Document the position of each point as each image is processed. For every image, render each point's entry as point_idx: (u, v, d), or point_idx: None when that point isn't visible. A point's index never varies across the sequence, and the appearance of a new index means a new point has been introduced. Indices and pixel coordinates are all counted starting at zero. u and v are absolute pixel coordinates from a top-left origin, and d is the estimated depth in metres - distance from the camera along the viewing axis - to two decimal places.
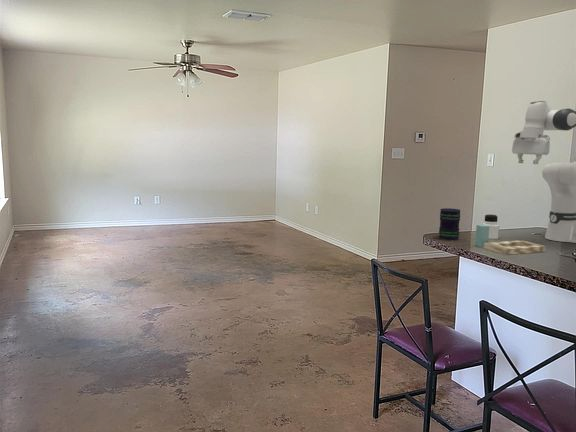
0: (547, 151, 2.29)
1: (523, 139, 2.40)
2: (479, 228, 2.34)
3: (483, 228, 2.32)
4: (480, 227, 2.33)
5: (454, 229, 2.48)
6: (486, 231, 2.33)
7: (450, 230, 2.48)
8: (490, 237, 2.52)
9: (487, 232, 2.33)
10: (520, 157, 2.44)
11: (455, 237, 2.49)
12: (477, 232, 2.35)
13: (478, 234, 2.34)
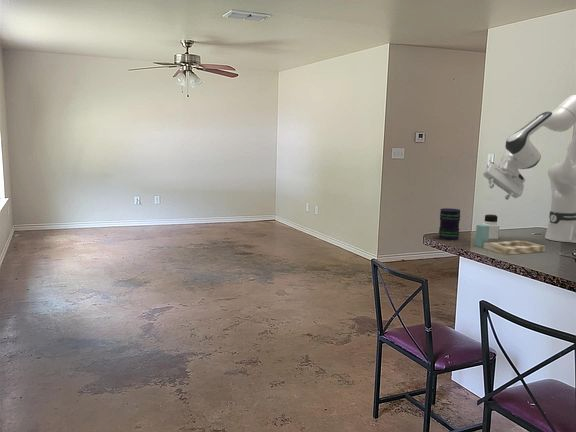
0: (486, 171, 2.33)
1: None
2: (479, 228, 2.34)
3: (483, 228, 2.32)
4: (480, 227, 2.33)
5: (454, 229, 2.48)
6: (486, 231, 2.33)
7: (450, 230, 2.48)
8: (490, 237, 2.52)
9: (487, 232, 2.33)
10: (509, 195, 2.33)
11: (455, 237, 2.49)
12: (477, 232, 2.35)
13: (478, 234, 2.34)
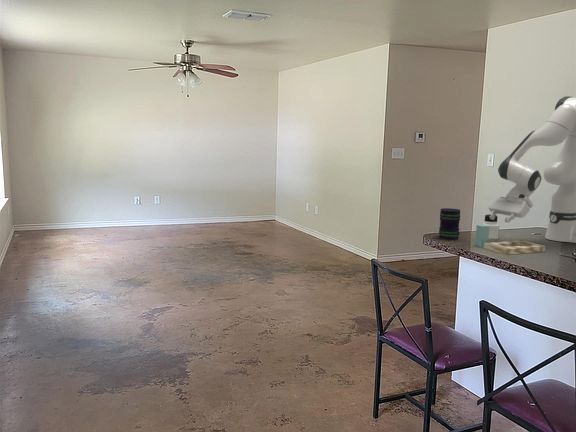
0: None
1: None
2: (479, 228, 2.34)
3: (483, 228, 2.32)
4: (480, 227, 2.33)
5: (454, 229, 2.48)
6: (486, 231, 2.33)
7: (450, 230, 2.48)
8: (490, 237, 2.52)
9: (487, 232, 2.33)
10: None
11: (455, 237, 2.49)
12: (477, 232, 2.35)
13: (478, 234, 2.34)
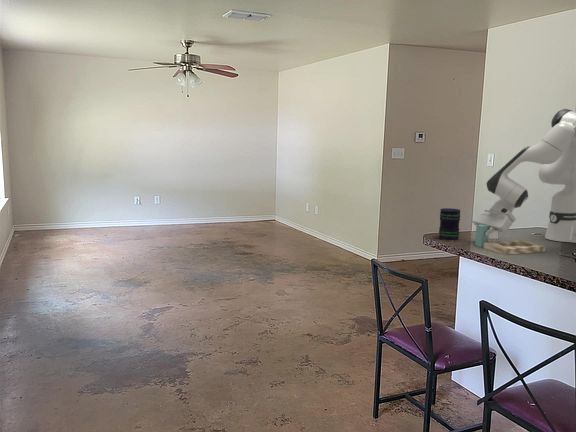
0: None
1: None
2: (479, 228, 2.34)
3: (483, 228, 2.32)
4: (480, 227, 2.33)
5: (454, 229, 2.48)
6: None
7: (450, 230, 2.48)
8: (490, 237, 2.52)
9: None
10: None
11: (455, 237, 2.49)
12: (477, 232, 2.35)
13: (478, 234, 2.34)
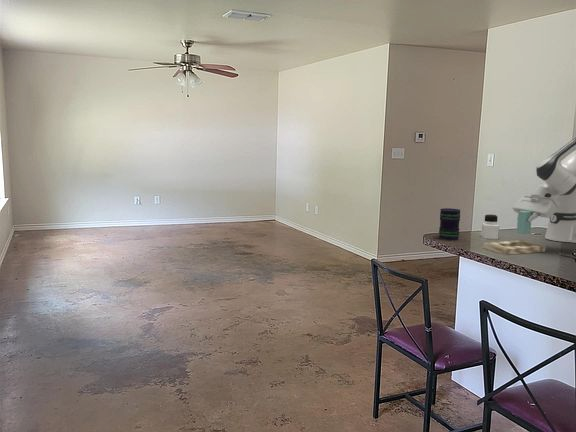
0: None
1: None
2: (521, 214, 2.25)
3: (526, 214, 2.24)
4: (522, 213, 2.25)
5: (454, 229, 2.48)
6: None
7: (450, 230, 2.48)
8: (490, 237, 2.52)
9: None
10: None
11: (455, 237, 2.49)
12: (519, 218, 2.27)
13: (520, 221, 2.26)
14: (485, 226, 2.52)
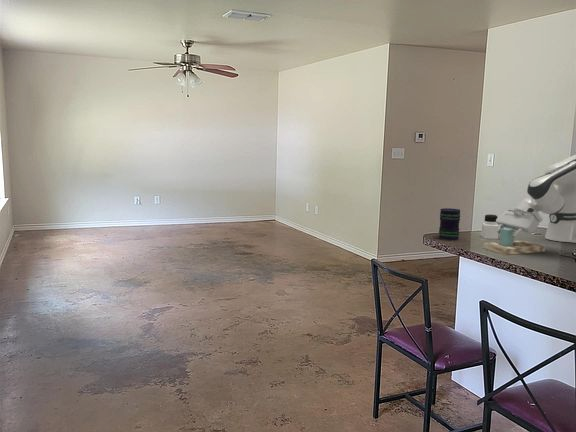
0: None
1: None
2: (503, 232, 2.25)
3: (508, 232, 2.23)
4: (505, 231, 2.24)
5: (454, 229, 2.48)
6: (511, 234, 2.24)
7: (450, 230, 2.48)
8: (490, 237, 2.52)
9: (512, 236, 2.24)
10: None
11: (455, 237, 2.49)
12: (501, 236, 2.26)
13: (502, 238, 2.25)
14: (485, 226, 2.52)
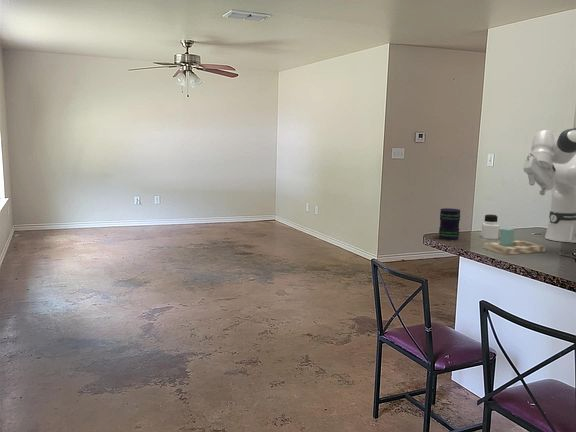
0: (528, 166, 2.14)
1: None
2: (503, 232, 2.25)
3: (508, 232, 2.23)
4: (505, 231, 2.24)
5: (454, 229, 2.48)
6: (511, 234, 2.24)
7: (450, 230, 2.48)
8: (490, 237, 2.52)
9: (512, 236, 2.24)
10: (543, 189, 2.21)
11: (455, 237, 2.49)
12: (501, 236, 2.26)
13: (502, 238, 2.25)
14: (485, 226, 2.52)
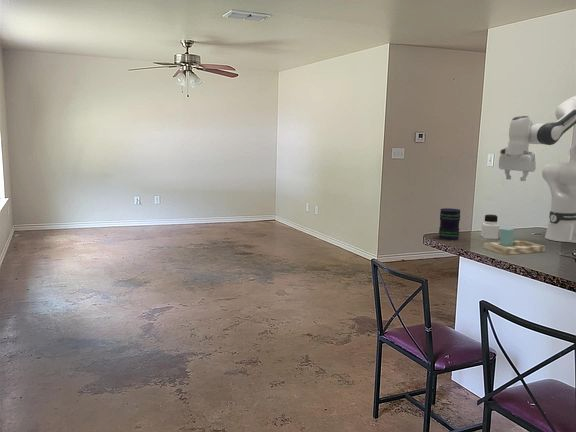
0: (533, 168, 2.26)
1: (509, 155, 2.36)
2: (503, 232, 2.25)
3: (508, 232, 2.23)
4: (505, 231, 2.24)
5: (454, 229, 2.48)
6: (511, 234, 2.24)
7: (450, 230, 2.48)
8: (490, 237, 2.52)
9: (512, 236, 2.24)
10: (507, 173, 2.40)
11: (455, 237, 2.49)
12: (501, 236, 2.26)
13: (502, 238, 2.25)
14: (485, 226, 2.52)
